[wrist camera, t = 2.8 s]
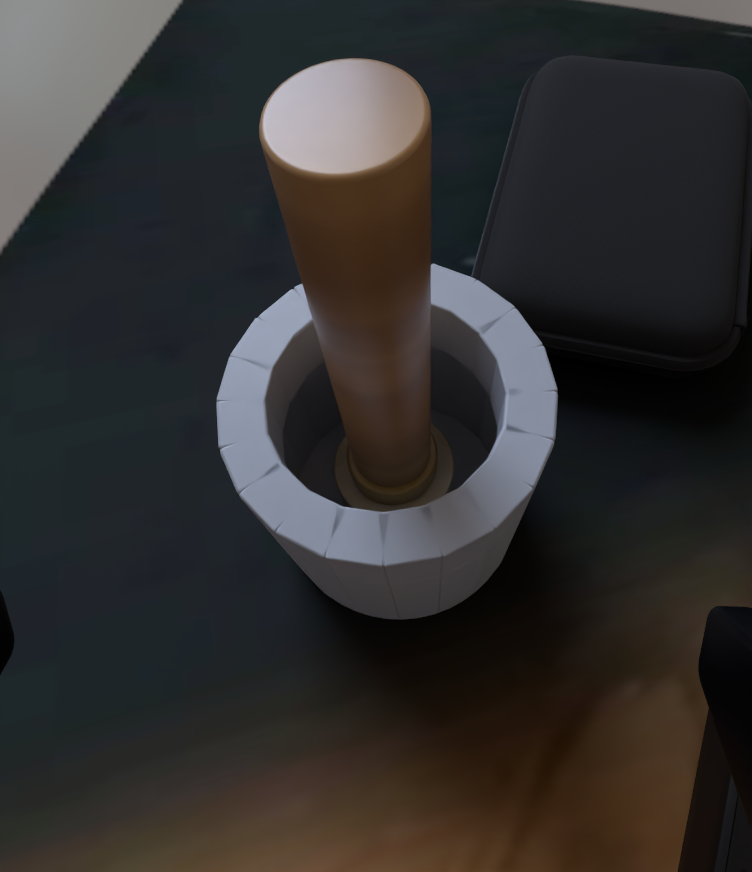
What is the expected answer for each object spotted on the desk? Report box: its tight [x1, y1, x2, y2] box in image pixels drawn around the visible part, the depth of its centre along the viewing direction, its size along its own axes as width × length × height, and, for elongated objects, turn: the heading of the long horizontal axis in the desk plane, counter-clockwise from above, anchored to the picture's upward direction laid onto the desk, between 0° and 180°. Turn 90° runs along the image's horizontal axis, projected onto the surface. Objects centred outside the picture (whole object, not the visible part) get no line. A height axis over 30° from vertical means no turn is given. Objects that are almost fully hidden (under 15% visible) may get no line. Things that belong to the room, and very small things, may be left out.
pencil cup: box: [217, 264, 558, 619], centre depth 18 cm, size 8×8×8 cm
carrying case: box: [471, 56, 752, 378], centre depth 25 cm, size 11×3×15 cm
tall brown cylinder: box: [259, 58, 454, 512], centre depth 15 cm, size 4×4×15 cm
